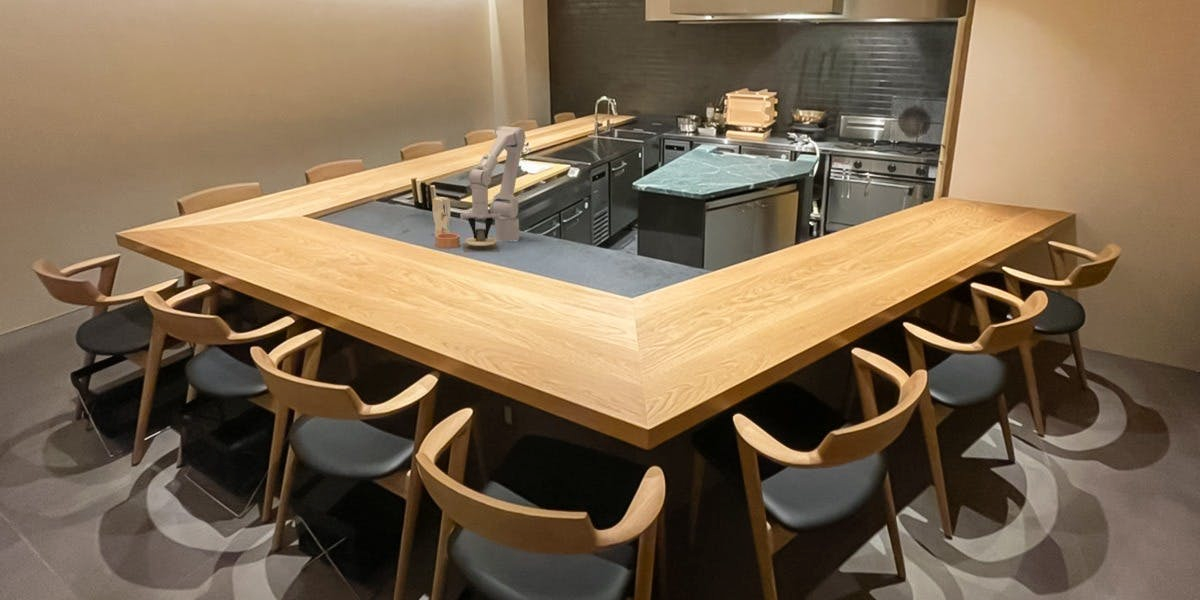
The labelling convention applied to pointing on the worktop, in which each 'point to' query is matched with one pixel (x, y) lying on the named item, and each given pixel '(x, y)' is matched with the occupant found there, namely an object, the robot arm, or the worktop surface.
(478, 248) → the mat
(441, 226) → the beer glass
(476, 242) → the lid
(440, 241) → the bowl
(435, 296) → the worktop surface
